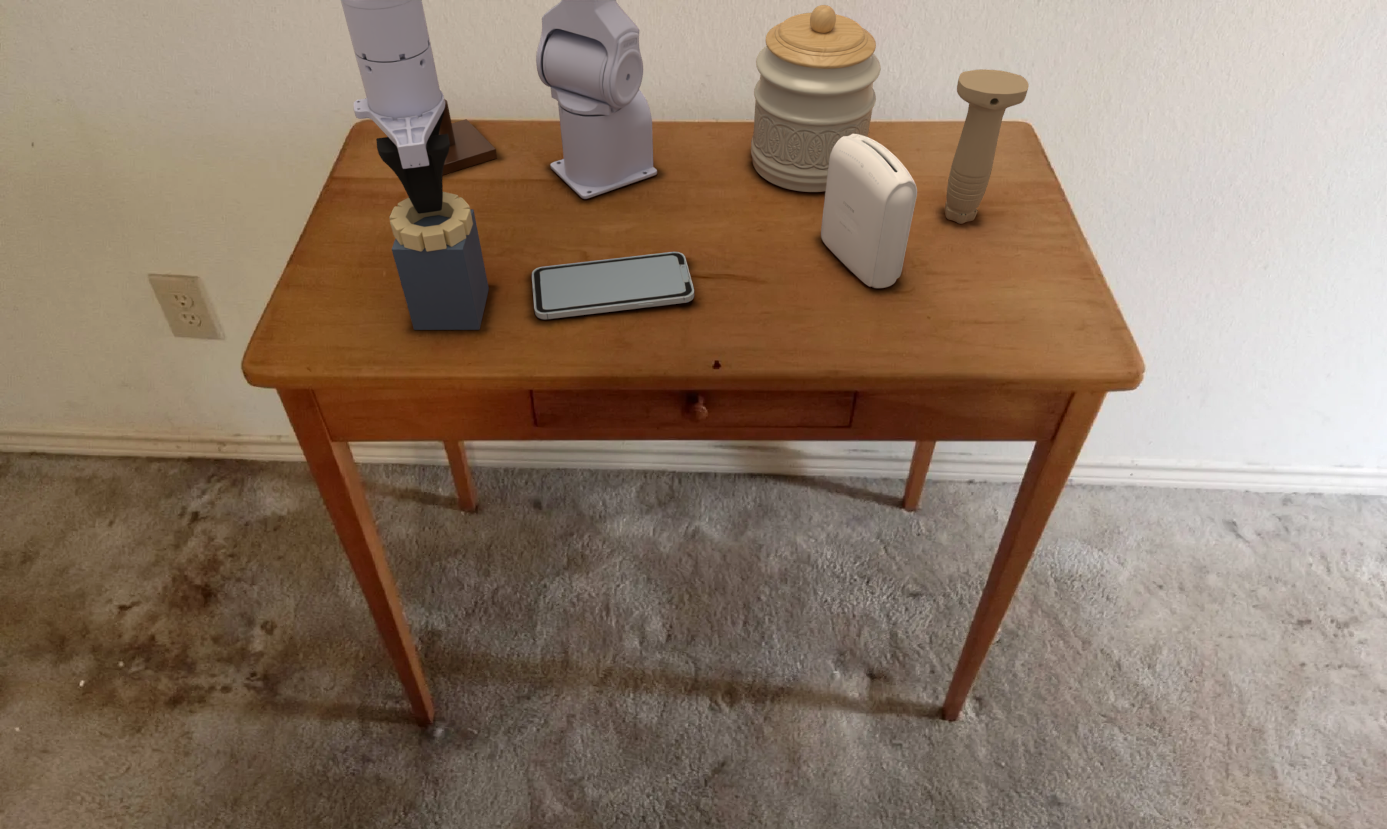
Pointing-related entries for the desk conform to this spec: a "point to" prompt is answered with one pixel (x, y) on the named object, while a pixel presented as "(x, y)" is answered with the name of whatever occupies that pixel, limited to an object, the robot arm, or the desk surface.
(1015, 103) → the handle
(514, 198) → the desk surface
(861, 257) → the photo printer
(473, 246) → the block
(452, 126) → the stand
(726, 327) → the desk surface
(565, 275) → the smartphone
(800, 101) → the jar
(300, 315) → the desk surface
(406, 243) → the bracelet
